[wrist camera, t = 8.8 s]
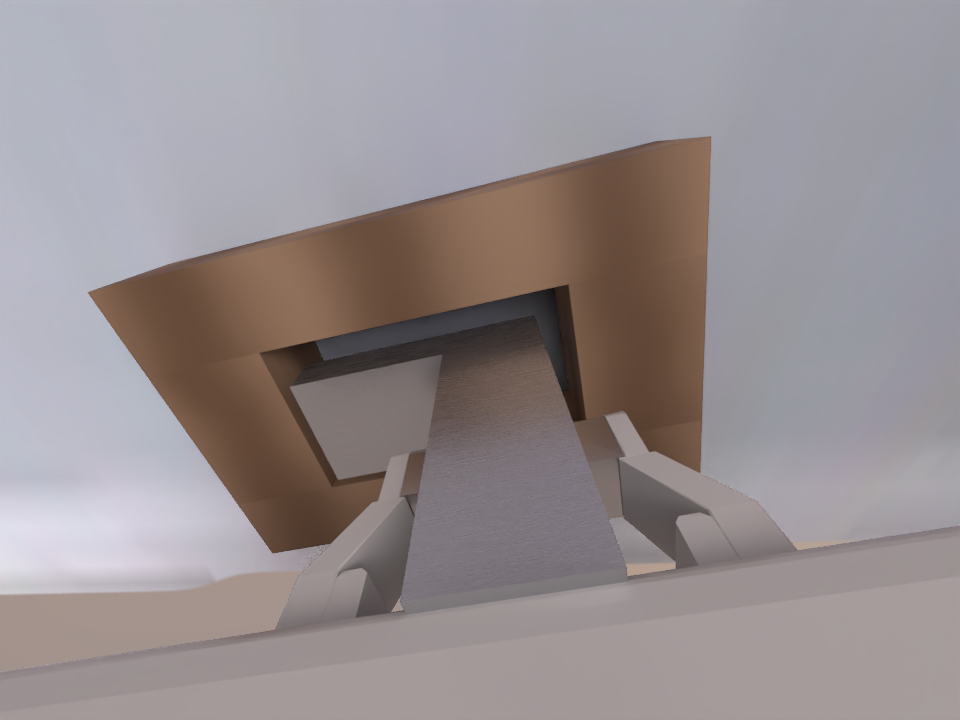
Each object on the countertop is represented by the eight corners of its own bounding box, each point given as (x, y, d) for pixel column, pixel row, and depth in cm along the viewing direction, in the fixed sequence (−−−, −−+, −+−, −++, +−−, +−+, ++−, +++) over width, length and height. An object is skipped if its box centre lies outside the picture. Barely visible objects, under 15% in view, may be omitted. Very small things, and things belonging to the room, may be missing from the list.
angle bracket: (533, 315, 13) (626, 567, 5) (551, 413, 15) (640, 714, 7) (307, 364, 14) (72, 651, 6) (350, 452, 16) (215, 765, 8)
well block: (655, 141, 13) (711, 136, 10) (662, 426, 18) (699, 481, 15) (169, 264, 15) (87, 292, 12) (304, 492, 20) (272, 553, 17)
